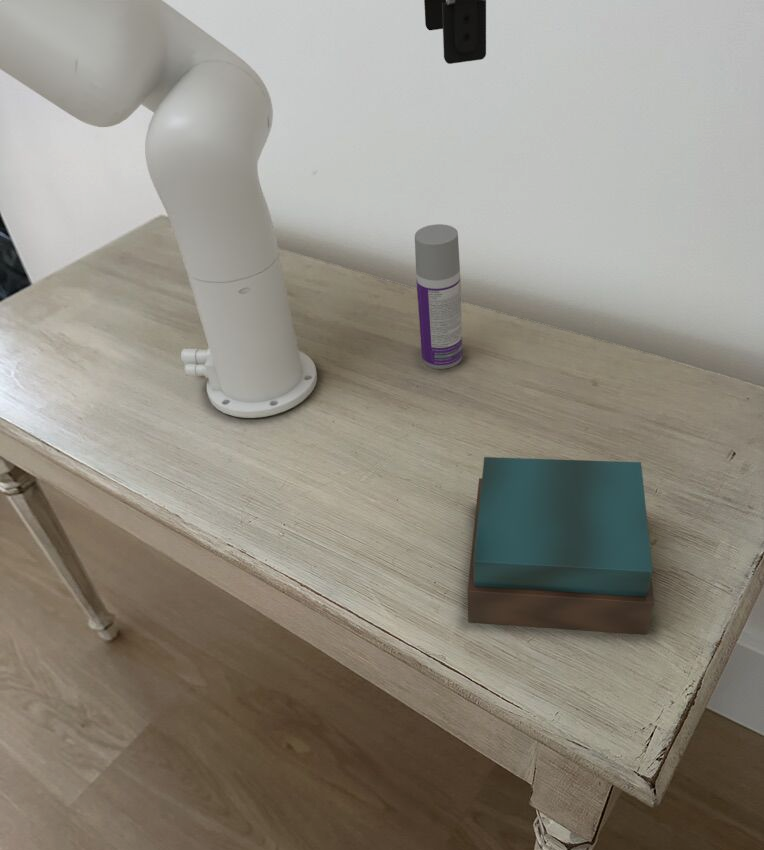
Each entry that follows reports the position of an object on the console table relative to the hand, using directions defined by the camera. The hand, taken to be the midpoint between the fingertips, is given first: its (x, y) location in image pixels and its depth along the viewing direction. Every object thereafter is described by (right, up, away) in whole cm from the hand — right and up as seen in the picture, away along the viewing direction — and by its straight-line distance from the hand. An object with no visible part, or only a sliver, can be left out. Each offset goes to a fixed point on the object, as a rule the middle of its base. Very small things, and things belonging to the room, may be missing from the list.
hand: (454, 43), depth 65 cm
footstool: (+9, -43, +3) cm, 44 cm away
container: (+1, -21, +27) cm, 34 cm away
